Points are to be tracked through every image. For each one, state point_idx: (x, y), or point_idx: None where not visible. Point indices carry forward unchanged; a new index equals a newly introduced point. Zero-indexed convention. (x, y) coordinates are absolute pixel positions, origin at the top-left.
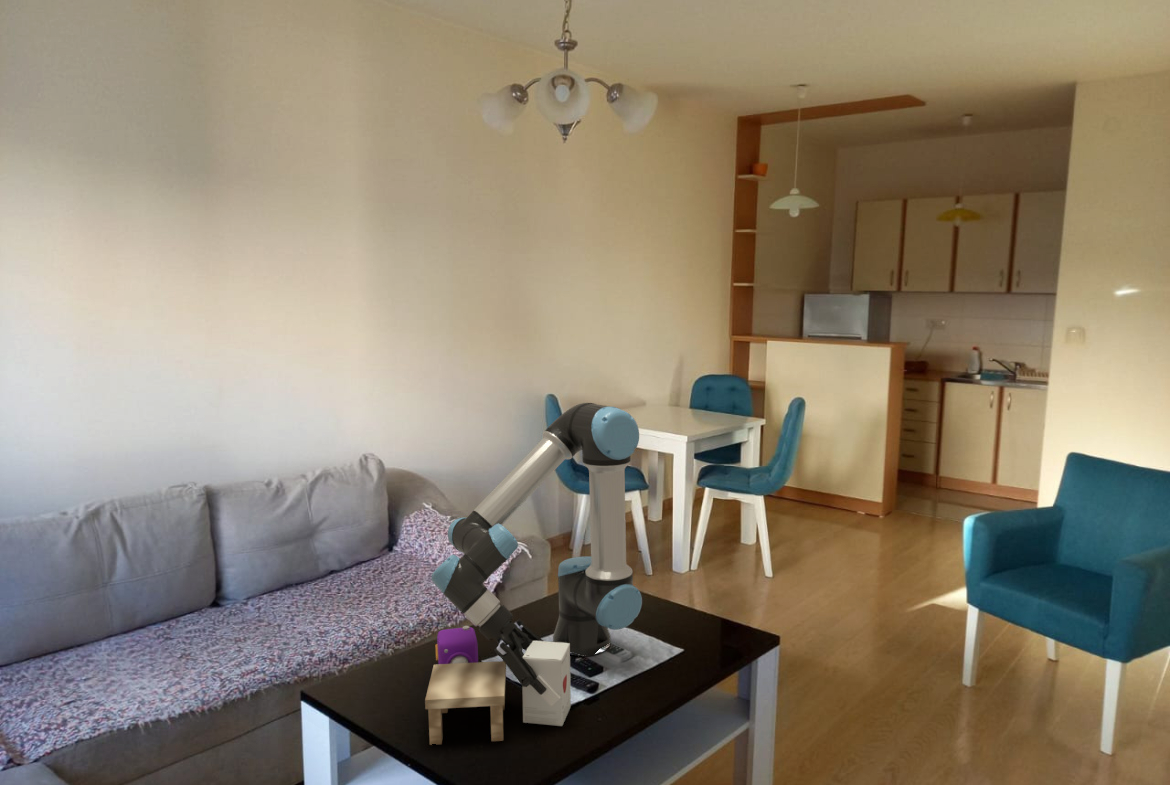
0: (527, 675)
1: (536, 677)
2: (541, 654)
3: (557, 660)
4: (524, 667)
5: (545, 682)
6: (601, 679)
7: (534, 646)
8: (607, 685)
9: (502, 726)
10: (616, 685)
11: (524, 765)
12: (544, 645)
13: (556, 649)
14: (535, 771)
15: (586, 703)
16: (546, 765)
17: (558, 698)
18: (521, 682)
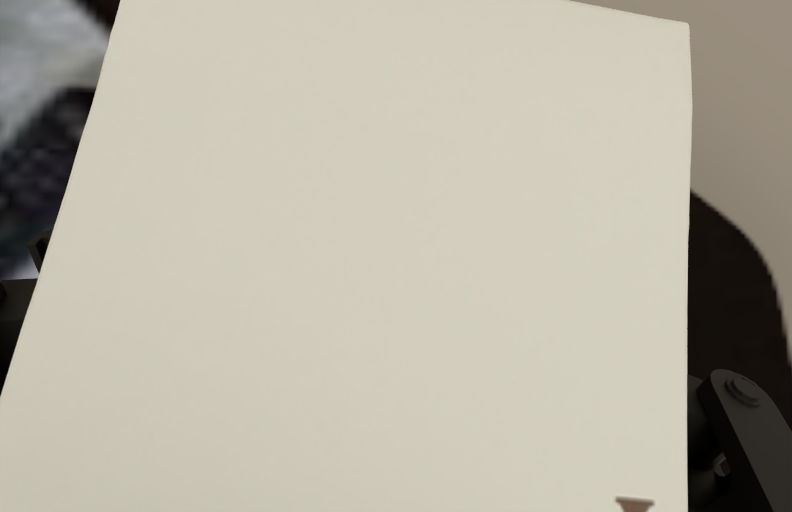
0: (785, 428)
1: None
2: (574, 292)
3: (687, 67)
4: (776, 500)
5: None
6: (30, 74)
7: (271, 459)
8: (97, 50)
9: None
10: (101, 13)
11: (733, 350)
12: (235, 277)
13: (390, 80)
14: (759, 304)
15: None
16: (719, 269)
17: None
18: (721, 473)
